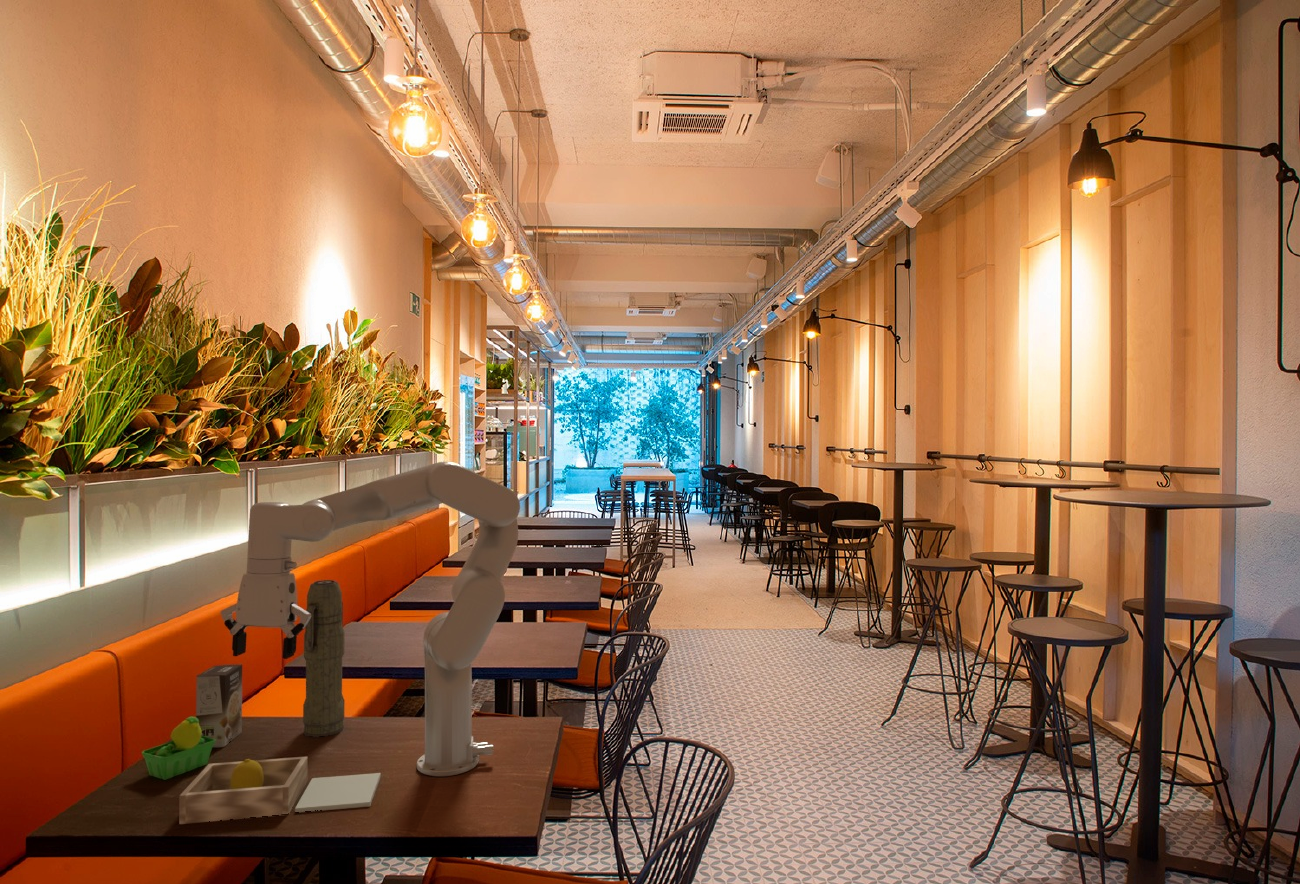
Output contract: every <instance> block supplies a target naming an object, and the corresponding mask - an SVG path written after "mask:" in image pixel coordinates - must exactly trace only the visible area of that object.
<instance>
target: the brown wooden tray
mask: <svg viewBox="0 0 1300 884" xmlns="http://www.w3.org/2000/svg"><path fill="white" fill-rule="evenodd" d="M253 760H254V759H253ZM308 760H309V758H308V756H296V757H283V758H282V757H281V758H270V759H269V758H268V759H267V758H266V759H255V760H254V761H256V762H258V763H259V764H260V765H261V767H262V770H263V775H264V781H263V786H262V787H254V788H242V789H231V786H230V782H231V776H232V773H233V771H234V769H235V768H236V766H237V765H238V764H240V763H241V762H243V761H244V760H243V761H231V762H230V761H228V762H217V763H216V762H215V763H207V764H206V765H205V768H204V769H203V770H201V772H200V773H199V774H198V775H197V776H196V777H195V778H194V779H193V780H192V781H191V782H190V784H189V785H187V787H186V788H185V789H184V790H183V791H182V792H181V793H180V794H179V804H178V809H179V811H178V812H179V813H178V814H179V815H178V816H179V817H178V822H179V824H178V825H185V824H196V823H197V824H198V823H206V822H207V823H208V822H209V821H210V822H220V820H222V821H230V819H233V820H243V819H244V818H245V819H251V818H250V817H256V818H263V817H262V816H268V817H273V816H272V815H279V816H282V815H281V814H288V813H289V814H290V812H291V811H292V810H293V808H292V807H294V806H295V804H296V803H297V801H298V799H299V798H300V796H301V794H302V792H303V790H304V789H305V786H306V785H307V783H308V767H309V765H308Z"/></svg>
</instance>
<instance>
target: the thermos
mask: <svg viewBox="0 0 1300 884" xmlns="http://www.w3.org/2000/svg"><path fill="white" fill-rule="evenodd" d="M342 600H343V594H342V590H341V586H340V584H339V582H338V581H336V580H333V579H332V580H331V579H325V580H323V579H322V580H316V581H314V582H313V583H310V586H309V588H308V591H307V594H306V609H305V610H306V611H307V612H309V613H311V615H312V616H311V618H310V620H309V622H308V623H307V625H306V627H305V628H304V629H305V631H304V634H303V658H304V660H305V698H304V701H303V705H302V707H303V708H302V710H303V713H302V715H303V717H302V722H303V727H304V728H303V734H304V736H306V735H307V736H306V737H309V736H313V737H312V738H320V737H319V736H325V737H329V736H328V735H330V736H333V735H336V734H338V733H340V732H342V731H343V730H344V729H345V726H344V719H345V705H346V704H345V703H346V702H345V698H344V696H343V657H344V655H345V629H344V627H343V626H344V625H343V623H344V613H343V612H344V609H343V608H344V602H343V601H342Z"/></svg>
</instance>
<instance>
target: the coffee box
mask: <svg viewBox="0 0 1300 884" xmlns="http://www.w3.org/2000/svg"><path fill="white" fill-rule="evenodd" d="M195 689H196V691H195V692H196V694H195V695H196V696H195V697H196V698H195V699H196V700H195V701H196V703H195V705H196V706H195V709H196V710H195V717H196V718H197V719H198V720H199V726H200V728H201V731H202V736H206V737H210V738H212V739H215V742H214V745H213V747H212V748H224V747H226V746H227V745H228V744H230V743H231V742H232V741H234V740H235V739H236V738H237V737H238V736H239V735H240V734H242V733H243V732H242V731H243V730H242V728H243V726H242V723H243V720H242V718H243V716H242V715H243V664H223V665H222V664H221V665H214V666H212V667H210V668H208V669H206V670H205V671H203V672H201V673H199V674H198V675H196V687H195ZM230 741H231V742H230ZM229 742H230V743H229Z"/></svg>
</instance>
